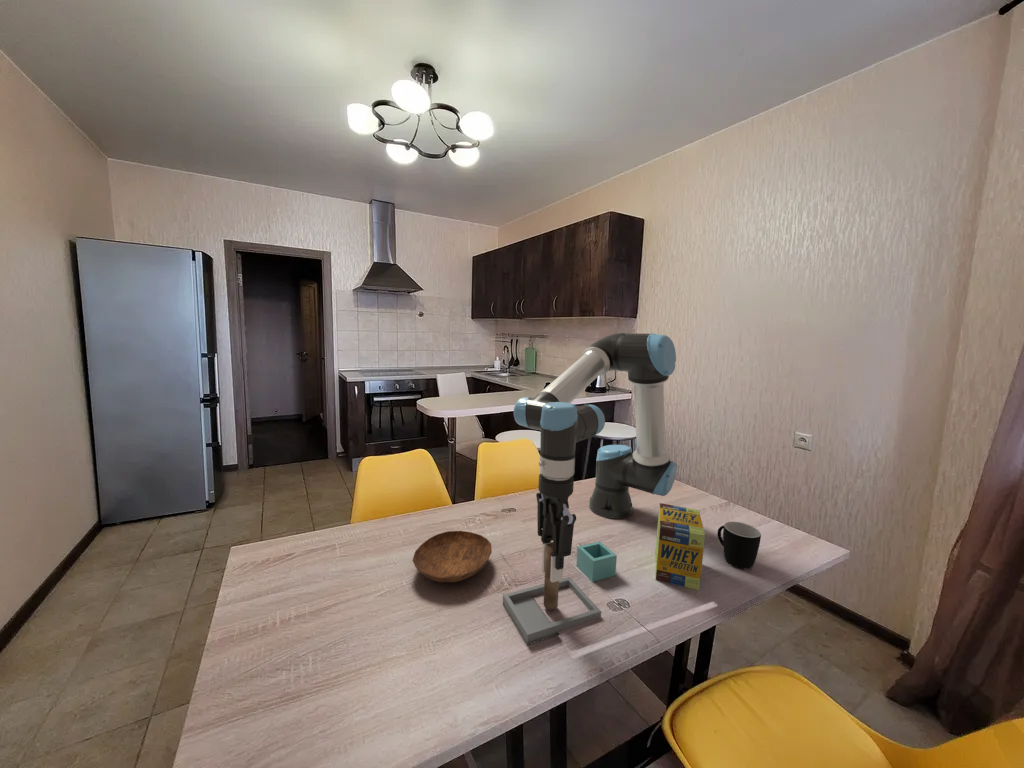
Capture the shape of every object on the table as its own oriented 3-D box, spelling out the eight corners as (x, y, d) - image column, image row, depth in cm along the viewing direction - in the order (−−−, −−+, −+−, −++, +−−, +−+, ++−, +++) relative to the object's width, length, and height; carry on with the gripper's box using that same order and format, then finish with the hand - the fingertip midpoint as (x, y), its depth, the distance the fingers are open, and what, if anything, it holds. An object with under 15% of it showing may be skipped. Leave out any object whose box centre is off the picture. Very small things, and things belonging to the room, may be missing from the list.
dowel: (541, 601, 90) (543, 544, 88) (553, 598, 91) (555, 541, 89) (547, 611, 87) (550, 552, 85) (560, 607, 88) (563, 549, 86)
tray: (502, 604, 91) (503, 594, 91) (569, 585, 99) (569, 576, 98) (527, 645, 80) (527, 634, 79) (600, 621, 87) (601, 611, 87)
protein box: (654, 584, 100) (659, 526, 98) (655, 552, 115) (659, 502, 112) (699, 594, 97) (705, 535, 95) (694, 560, 111) (699, 508, 109)
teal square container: (576, 569, 105) (577, 546, 104) (598, 563, 108) (599, 541, 107) (591, 585, 99) (593, 561, 98) (615, 579, 102) (616, 555, 101)
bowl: (502, 554, 112) (502, 538, 111) (469, 604, 91) (469, 585, 90) (441, 541, 118) (441, 525, 117) (397, 585, 97) (396, 566, 97)
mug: (764, 569, 108) (769, 534, 106) (739, 575, 105) (743, 539, 103) (728, 546, 119) (731, 514, 118) (704, 551, 116) (708, 518, 115)
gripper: (524, 464, 90) (521, 559, 94) (560, 491, 76) (555, 602, 79) (552, 460, 93) (549, 552, 97) (593, 486, 79) (586, 593, 82)
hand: (551, 574), depth 88 cm, fingers closed on dowel, 3 cm apart
